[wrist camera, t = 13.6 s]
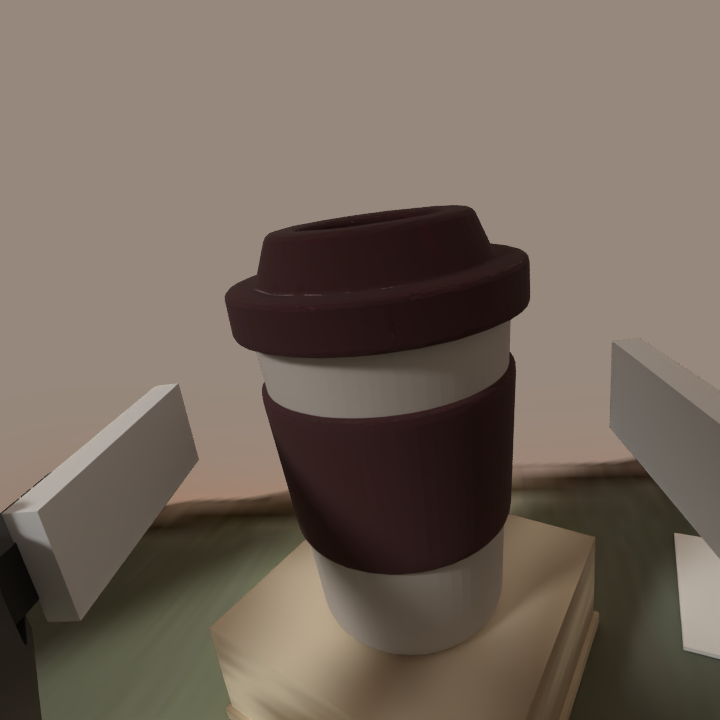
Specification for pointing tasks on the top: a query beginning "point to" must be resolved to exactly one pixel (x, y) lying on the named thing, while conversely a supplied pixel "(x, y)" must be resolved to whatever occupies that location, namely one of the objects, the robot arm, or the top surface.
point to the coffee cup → (393, 411)
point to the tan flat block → (417, 672)
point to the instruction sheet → (698, 595)
